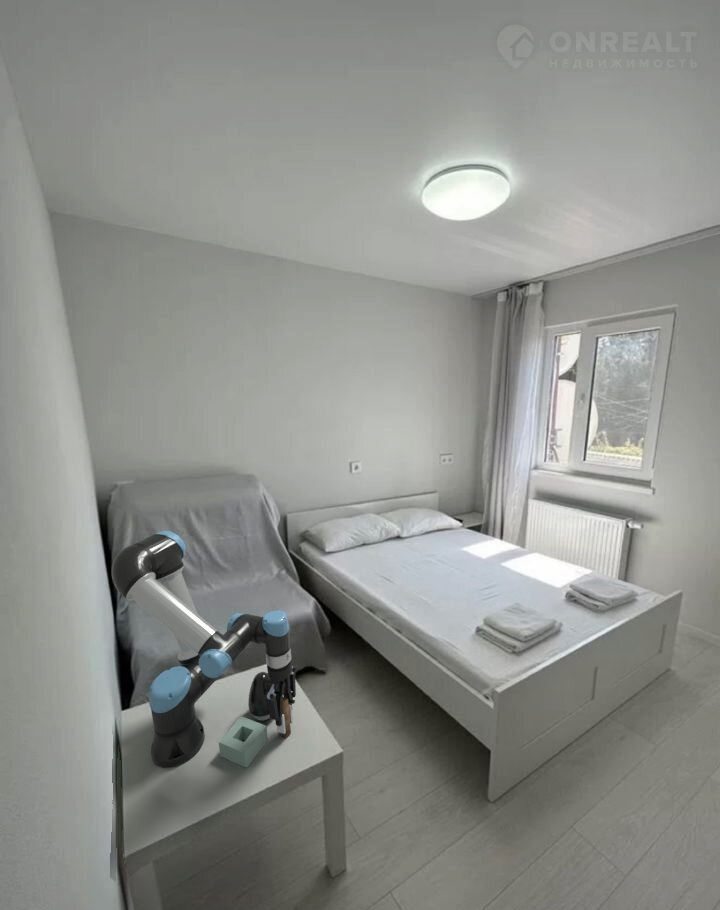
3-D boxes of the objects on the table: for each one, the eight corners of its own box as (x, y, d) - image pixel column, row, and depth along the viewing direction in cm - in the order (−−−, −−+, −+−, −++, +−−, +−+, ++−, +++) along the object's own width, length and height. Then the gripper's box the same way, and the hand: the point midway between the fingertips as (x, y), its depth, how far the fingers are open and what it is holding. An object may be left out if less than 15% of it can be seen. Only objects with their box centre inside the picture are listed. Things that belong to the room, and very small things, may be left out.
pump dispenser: (273, 728, 129) (269, 687, 126) (244, 723, 131) (239, 683, 128) (285, 703, 138) (282, 664, 136) (258, 699, 141) (254, 661, 138)
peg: (278, 735, 126) (275, 703, 124) (284, 727, 129) (281, 695, 126) (287, 739, 124) (284, 706, 122) (292, 730, 127) (290, 698, 125)
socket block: (220, 756, 120) (218, 742, 119) (242, 729, 129) (241, 716, 128) (246, 768, 116) (245, 753, 115) (267, 739, 125) (266, 725, 124)
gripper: (273, 683, 113) (279, 752, 117) (303, 647, 128) (308, 710, 132) (252, 676, 116) (259, 744, 120) (284, 642, 131) (289, 703, 135)
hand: (285, 726), depth 126 cm, fingers open, 3 cm apart
